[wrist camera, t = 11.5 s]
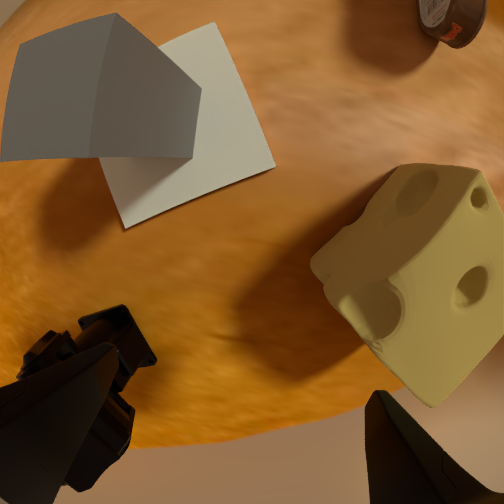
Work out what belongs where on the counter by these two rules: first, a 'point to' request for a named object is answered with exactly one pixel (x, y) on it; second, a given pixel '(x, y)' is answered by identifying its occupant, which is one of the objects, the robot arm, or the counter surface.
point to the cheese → (422, 275)
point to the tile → (206, 139)
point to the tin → (452, 20)
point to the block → (98, 96)
